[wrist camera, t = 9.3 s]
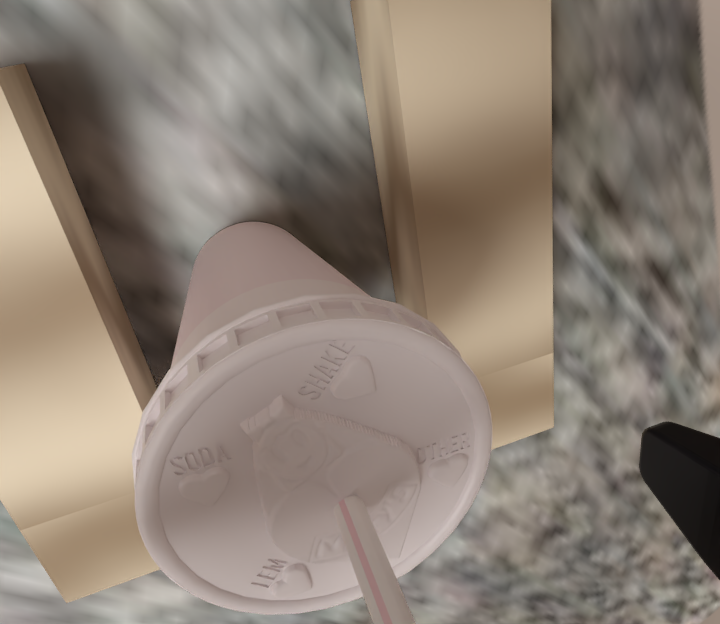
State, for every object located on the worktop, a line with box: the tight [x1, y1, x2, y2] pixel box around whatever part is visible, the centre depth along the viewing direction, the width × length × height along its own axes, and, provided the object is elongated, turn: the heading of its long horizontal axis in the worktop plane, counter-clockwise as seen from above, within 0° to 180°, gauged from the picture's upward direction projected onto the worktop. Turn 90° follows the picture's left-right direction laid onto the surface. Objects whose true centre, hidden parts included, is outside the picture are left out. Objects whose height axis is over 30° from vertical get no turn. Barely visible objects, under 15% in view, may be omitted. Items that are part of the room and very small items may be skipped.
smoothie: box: [132, 222, 492, 624], centre depth 12 cm, size 6×6×14 cm
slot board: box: [0, 0, 554, 603], centre depth 17 cm, size 14×17×3 cm
